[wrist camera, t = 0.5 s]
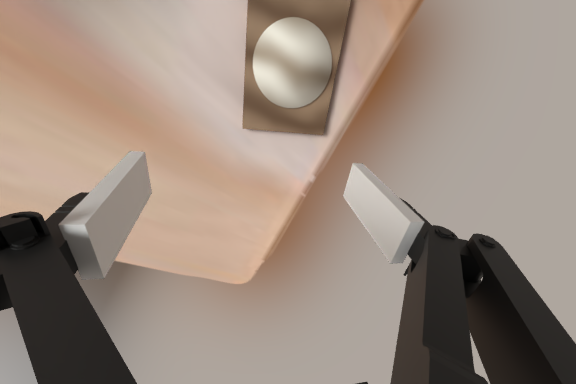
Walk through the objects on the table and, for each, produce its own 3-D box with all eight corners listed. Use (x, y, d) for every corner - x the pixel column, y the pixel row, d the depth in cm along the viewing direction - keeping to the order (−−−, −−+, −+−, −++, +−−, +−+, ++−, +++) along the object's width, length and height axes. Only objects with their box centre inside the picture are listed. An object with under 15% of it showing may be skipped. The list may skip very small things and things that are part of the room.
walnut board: (249, -29, 31) (249, -33, 30) (348, -6, 34) (353, -9, 33) (242, 126, 41) (242, 129, 39) (320, 132, 44) (323, 135, 42)
